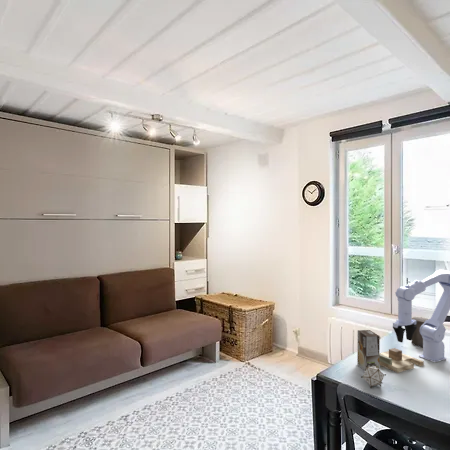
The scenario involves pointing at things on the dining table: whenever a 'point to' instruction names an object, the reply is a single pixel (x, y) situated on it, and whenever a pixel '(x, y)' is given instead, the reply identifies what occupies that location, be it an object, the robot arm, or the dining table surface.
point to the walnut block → (395, 354)
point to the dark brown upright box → (418, 331)
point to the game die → (373, 376)
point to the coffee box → (368, 349)
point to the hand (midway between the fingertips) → (404, 340)
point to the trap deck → (398, 362)
